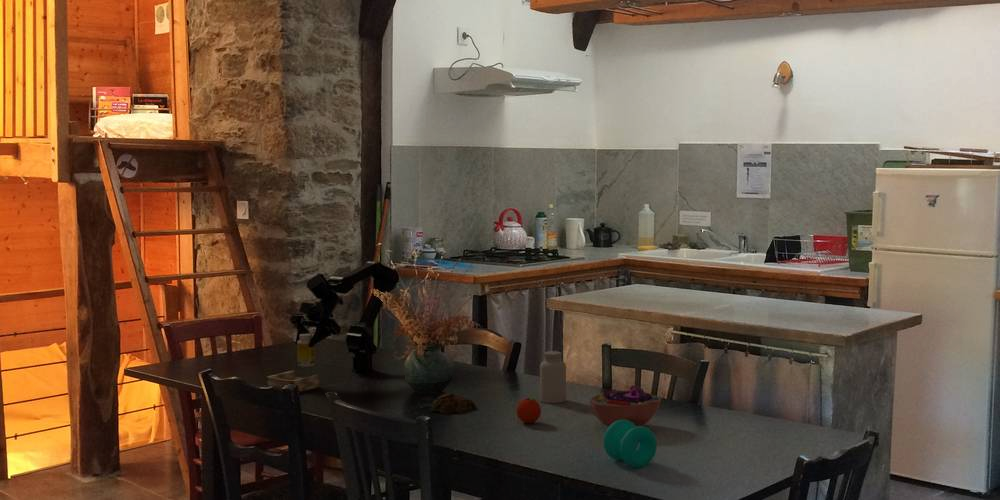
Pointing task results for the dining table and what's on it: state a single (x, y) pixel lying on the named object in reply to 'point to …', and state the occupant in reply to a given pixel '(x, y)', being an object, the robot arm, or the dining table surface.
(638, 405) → the cell model
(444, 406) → the bread roll
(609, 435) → the green spool
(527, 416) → the tomato
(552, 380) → the pill bottle
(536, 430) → the dining table surface
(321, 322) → the robot arm
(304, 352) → the supplement bottle
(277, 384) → the caddy
